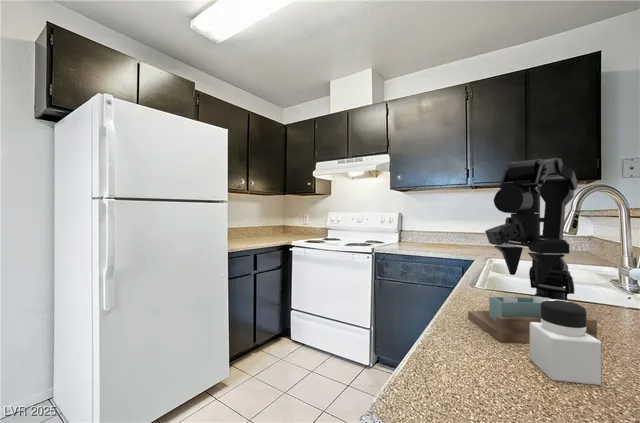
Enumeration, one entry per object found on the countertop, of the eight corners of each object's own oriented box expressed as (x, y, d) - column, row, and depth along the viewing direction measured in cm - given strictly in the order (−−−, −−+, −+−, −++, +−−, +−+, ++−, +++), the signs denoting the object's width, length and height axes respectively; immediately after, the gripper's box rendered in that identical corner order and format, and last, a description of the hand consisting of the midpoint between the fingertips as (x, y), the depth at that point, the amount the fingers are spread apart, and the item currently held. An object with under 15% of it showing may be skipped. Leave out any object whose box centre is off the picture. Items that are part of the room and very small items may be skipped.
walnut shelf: (546, 319, 74) (546, 300, 74) (597, 344, 60) (597, 320, 60) (468, 318, 75) (468, 299, 75) (500, 342, 61) (500, 319, 61)
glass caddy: (547, 318, 70) (547, 295, 70) (564, 326, 65) (564, 301, 65) (489, 317, 70) (489, 294, 70) (501, 325, 65) (501, 300, 65)
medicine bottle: (602, 386, 45) (602, 310, 46) (551, 380, 47) (551, 307, 47) (572, 363, 52) (572, 297, 53) (528, 359, 54) (529, 295, 54)
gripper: (471, 213, 78) (471, 270, 78) (517, 213, 59) (516, 288, 59) (512, 213, 78) (512, 271, 77) (571, 213, 59) (571, 289, 59)
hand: (525, 278), depth 68 cm, fingers open, 9 cm apart
